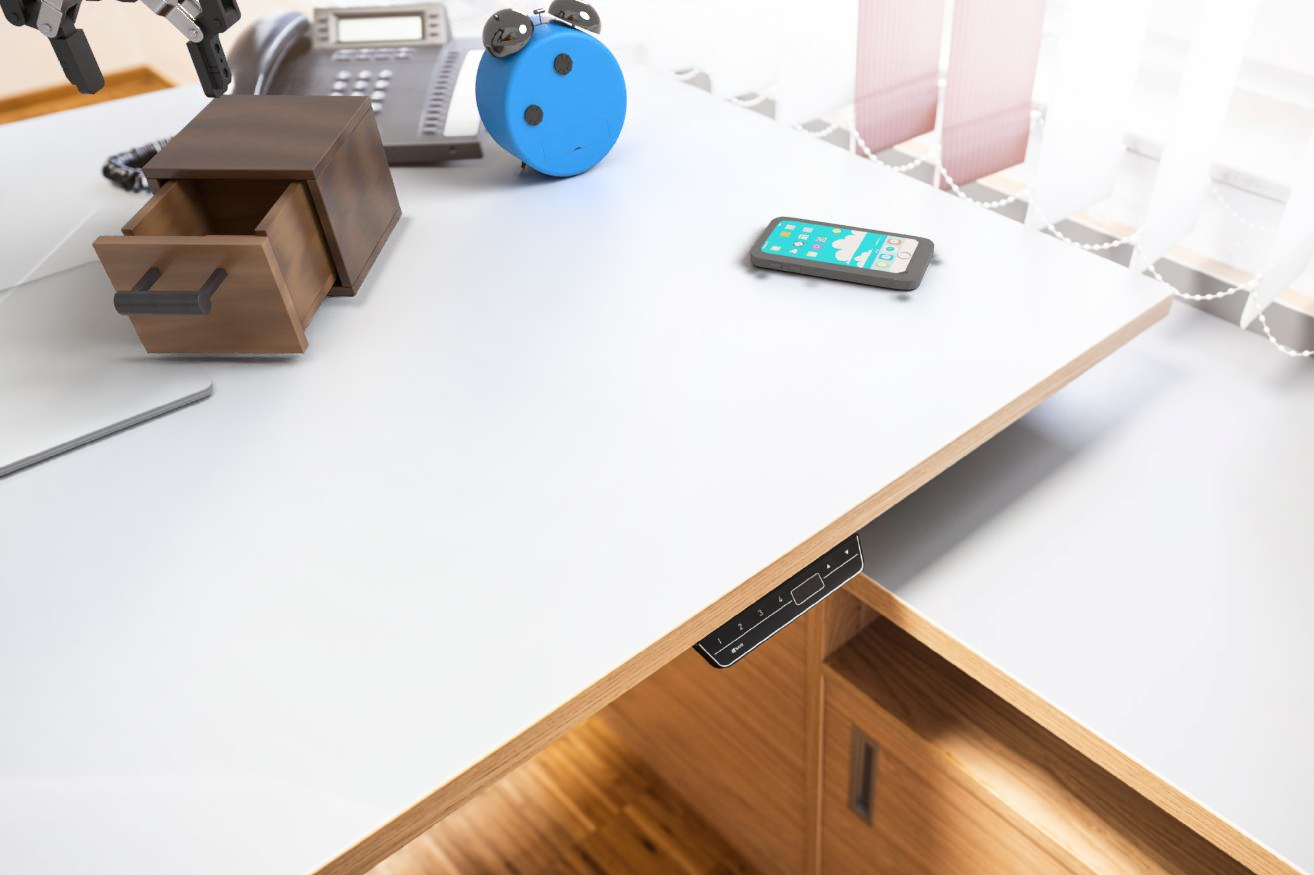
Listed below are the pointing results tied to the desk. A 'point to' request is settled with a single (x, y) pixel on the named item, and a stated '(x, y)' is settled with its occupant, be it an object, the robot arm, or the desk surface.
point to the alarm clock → (550, 88)
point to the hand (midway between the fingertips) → (155, 92)
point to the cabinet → (298, 165)
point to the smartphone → (843, 252)
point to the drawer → (221, 267)
